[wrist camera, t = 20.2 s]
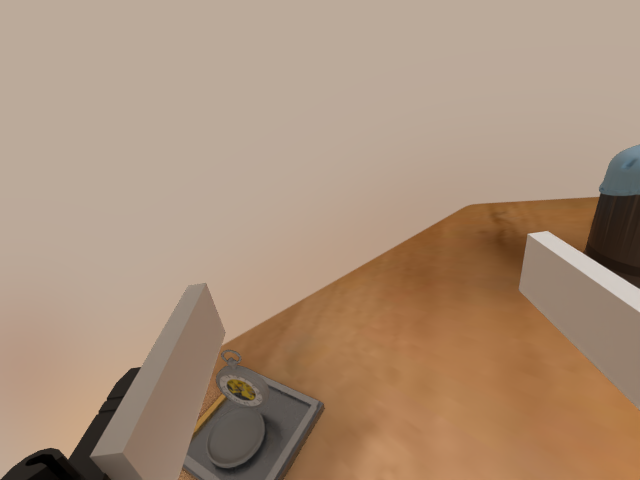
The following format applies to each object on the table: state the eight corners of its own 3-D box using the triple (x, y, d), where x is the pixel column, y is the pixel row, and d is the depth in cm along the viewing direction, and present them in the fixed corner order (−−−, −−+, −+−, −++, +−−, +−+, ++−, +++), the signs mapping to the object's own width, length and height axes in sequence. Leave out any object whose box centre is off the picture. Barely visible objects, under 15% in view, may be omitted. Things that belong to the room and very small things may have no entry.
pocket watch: (207, 481, 33) (172, 421, 28) (209, 410, 40) (181, 354, 35) (284, 450, 34) (262, 388, 30) (271, 387, 42) (252, 330, 37)
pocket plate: (247, 372, 46) (245, 366, 45) (324, 408, 39) (322, 401, 38) (171, 460, 36) (166, 453, 35) (255, 527, 29) (251, 519, 29)
